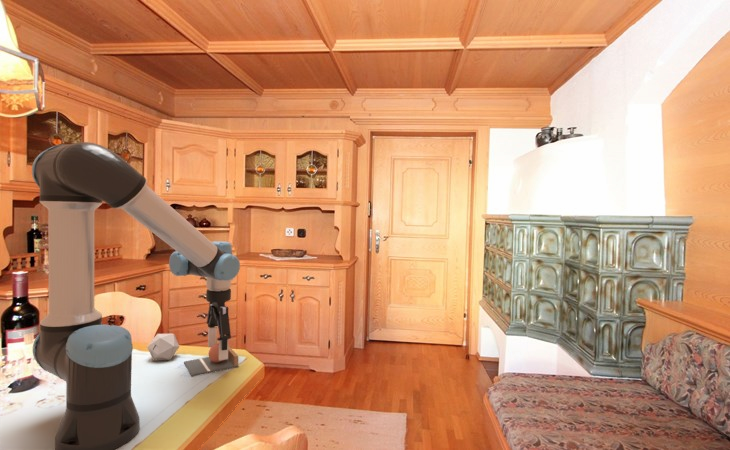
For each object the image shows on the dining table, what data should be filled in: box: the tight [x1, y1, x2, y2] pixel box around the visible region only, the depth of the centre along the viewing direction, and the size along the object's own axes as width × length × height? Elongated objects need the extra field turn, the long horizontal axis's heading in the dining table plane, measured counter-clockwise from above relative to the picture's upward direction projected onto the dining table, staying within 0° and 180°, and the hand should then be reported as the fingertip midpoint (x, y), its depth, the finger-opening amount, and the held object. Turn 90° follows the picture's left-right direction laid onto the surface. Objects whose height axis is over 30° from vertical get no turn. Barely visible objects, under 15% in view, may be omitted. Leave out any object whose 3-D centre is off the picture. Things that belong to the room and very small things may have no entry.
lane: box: [183, 345, 239, 377], centre depth 123 cm, size 14×12×4 cm
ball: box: [208, 342, 223, 363], centre depth 124 cm, size 6×6×6 cm
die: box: [146, 333, 180, 361], centre depth 128 cm, size 8×9×10 cm
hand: (217, 352), depth 124 cm, fingers open, 13 cm apart
